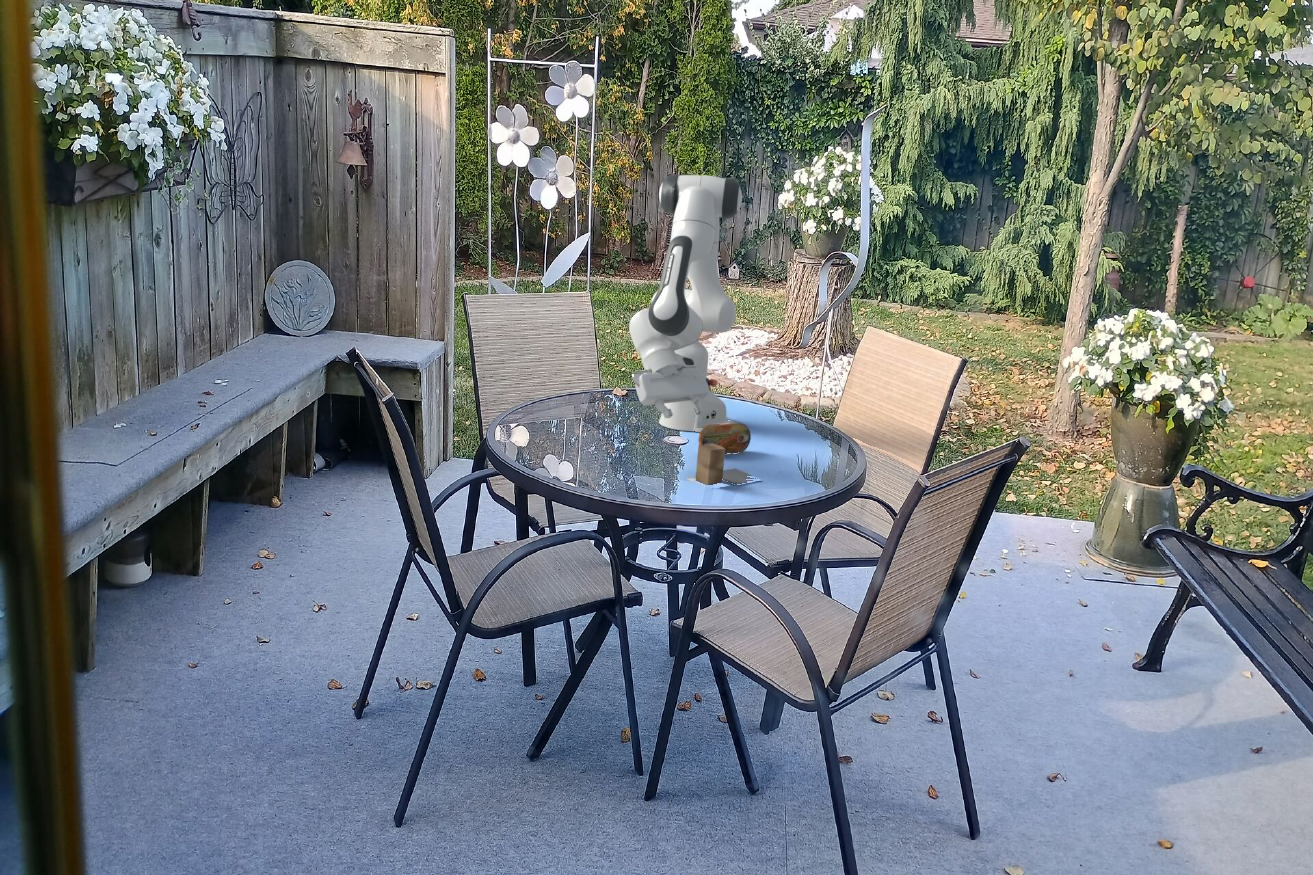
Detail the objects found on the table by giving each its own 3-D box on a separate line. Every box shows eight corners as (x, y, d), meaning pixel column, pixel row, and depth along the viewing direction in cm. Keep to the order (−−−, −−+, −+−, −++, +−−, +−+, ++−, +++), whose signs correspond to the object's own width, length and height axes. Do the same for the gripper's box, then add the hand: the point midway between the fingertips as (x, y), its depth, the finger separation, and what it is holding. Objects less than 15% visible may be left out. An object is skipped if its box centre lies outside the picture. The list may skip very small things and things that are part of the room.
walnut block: (709, 478, 272) (713, 443, 270) (721, 483, 269) (725, 448, 266) (695, 480, 270) (698, 445, 267) (707, 486, 266) (710, 450, 264)
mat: (735, 470, 281) (735, 468, 281) (761, 481, 273) (762, 479, 273) (709, 474, 276) (709, 472, 275) (735, 486, 268) (735, 484, 268)
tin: (701, 457, 290) (704, 426, 288) (695, 453, 293) (698, 423, 290) (750, 453, 297) (753, 423, 295) (743, 450, 300) (746, 420, 297)
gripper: (635, 364, 270) (657, 412, 265) (700, 359, 282) (721, 405, 277) (624, 378, 274) (644, 425, 270) (688, 372, 287) (708, 418, 282)
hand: (684, 415), depth 274 cm, fingers open, 8 cm apart
